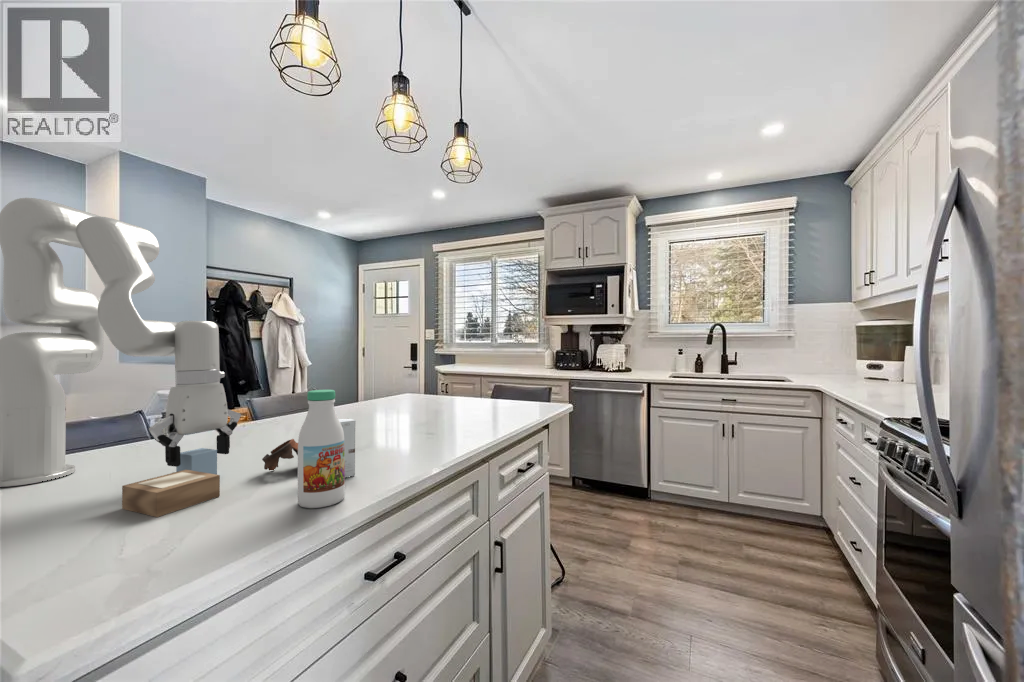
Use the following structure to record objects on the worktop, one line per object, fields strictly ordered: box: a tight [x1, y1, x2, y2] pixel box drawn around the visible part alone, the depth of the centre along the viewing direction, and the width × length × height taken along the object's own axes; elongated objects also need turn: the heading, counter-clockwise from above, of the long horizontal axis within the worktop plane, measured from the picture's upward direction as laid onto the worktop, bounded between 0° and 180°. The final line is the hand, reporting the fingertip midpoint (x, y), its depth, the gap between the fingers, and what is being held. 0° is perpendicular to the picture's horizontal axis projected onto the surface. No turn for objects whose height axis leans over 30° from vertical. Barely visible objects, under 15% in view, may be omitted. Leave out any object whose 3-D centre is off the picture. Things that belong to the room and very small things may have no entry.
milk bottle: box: [297, 389, 346, 509], centre depth 74 cm, size 8×8×20 cm
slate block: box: [175, 447, 218, 475], centre depth 87 cm, size 5×5×6 cm
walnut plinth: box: [121, 470, 221, 518], centre depth 74 cm, size 10×10×4 cm
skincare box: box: [338, 417, 356, 478], centre depth 88 cm, size 6×4×12 cm
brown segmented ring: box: [261, 438, 298, 471], centre depth 93 cm, size 12×10×8 cm
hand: (199, 459), depth 87 cm, fingers open, 9 cm apart
